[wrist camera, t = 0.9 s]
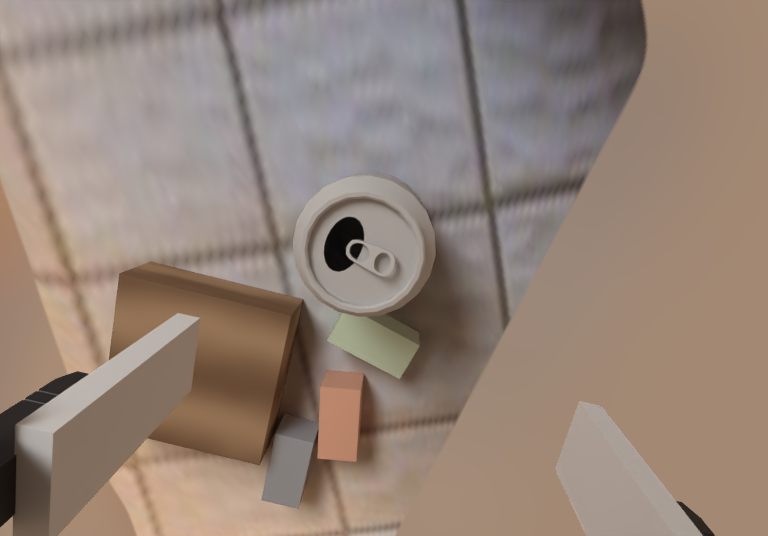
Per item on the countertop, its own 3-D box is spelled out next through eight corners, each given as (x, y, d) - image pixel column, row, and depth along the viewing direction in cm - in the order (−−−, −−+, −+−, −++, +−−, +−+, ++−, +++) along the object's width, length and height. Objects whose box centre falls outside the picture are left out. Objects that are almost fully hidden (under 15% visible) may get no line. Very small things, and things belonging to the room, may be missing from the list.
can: (346, 156, 33) (316, 150, 21) (442, 197, 33) (464, 213, 22) (310, 250, 35) (263, 293, 23) (401, 288, 35) (402, 350, 23)
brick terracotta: (326, 369, 37) (320, 386, 34) (364, 372, 37) (360, 390, 34) (323, 436, 38) (317, 458, 35) (359, 439, 38) (356, 461, 35)
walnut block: (150, 261, 35) (119, 273, 31) (303, 299, 35) (290, 315, 31) (131, 400, 38) (100, 426, 34) (273, 434, 38) (259, 465, 34)
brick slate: (284, 413, 38) (275, 433, 35) (320, 421, 38) (313, 442, 35) (271, 475, 39) (261, 500, 36) (306, 483, 39) (298, 508, 36)
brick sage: (332, 326, 36) (326, 340, 33) (350, 294, 35) (346, 306, 32) (399, 362, 36) (399, 379, 34) (418, 331, 36) (420, 345, 33)
